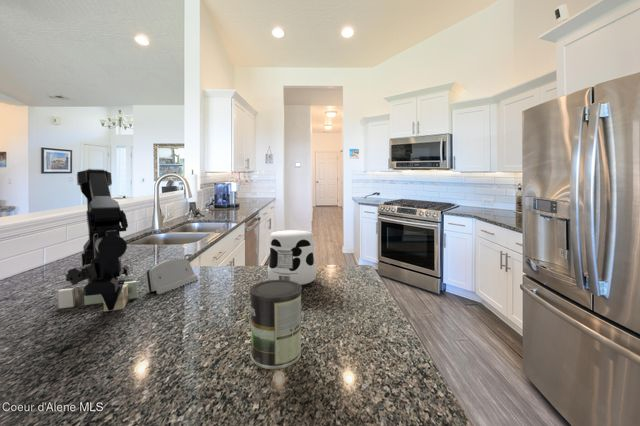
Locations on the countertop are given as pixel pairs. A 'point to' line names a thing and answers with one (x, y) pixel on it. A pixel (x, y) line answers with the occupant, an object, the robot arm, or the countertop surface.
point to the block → (120, 299)
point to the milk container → (292, 256)
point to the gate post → (78, 295)
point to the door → (99, 299)
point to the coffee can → (275, 323)
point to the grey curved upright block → (169, 275)
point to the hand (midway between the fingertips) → (111, 309)
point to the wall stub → (66, 298)
